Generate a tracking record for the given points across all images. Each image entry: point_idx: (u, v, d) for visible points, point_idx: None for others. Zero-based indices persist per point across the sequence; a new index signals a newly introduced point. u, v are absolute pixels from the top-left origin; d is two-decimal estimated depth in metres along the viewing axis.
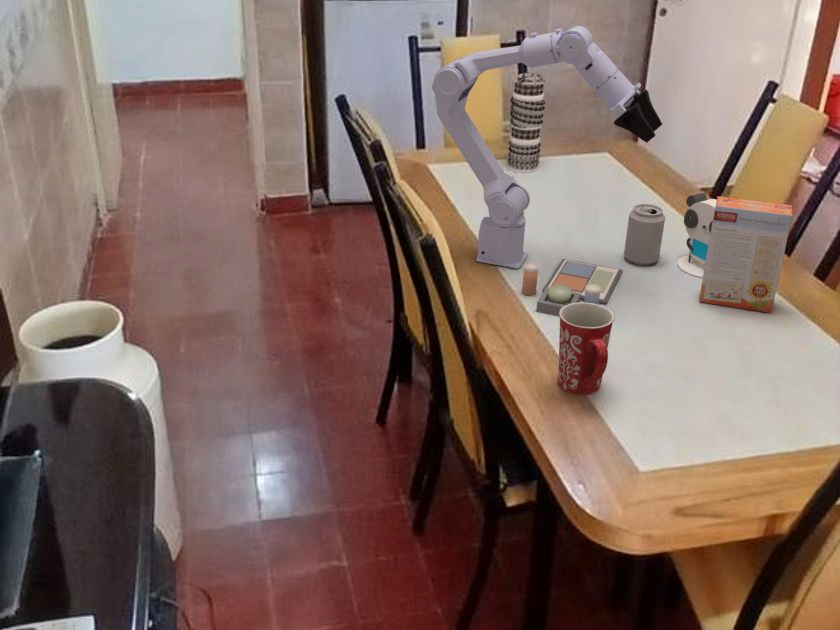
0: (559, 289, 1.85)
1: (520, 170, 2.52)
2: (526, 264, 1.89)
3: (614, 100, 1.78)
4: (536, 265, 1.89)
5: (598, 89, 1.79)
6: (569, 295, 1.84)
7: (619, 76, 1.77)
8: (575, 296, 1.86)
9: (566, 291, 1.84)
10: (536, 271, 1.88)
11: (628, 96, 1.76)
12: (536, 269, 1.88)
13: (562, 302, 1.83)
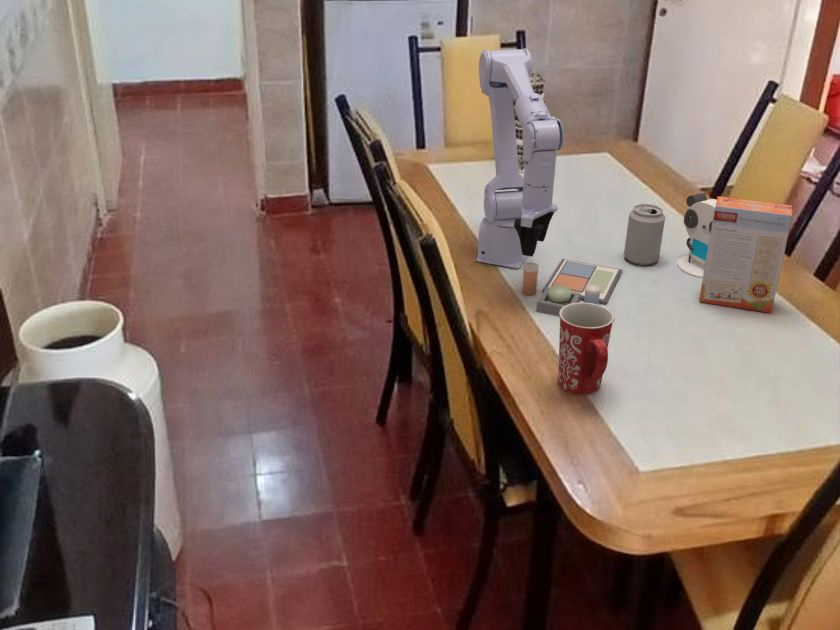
0: (559, 289, 1.85)
1: (520, 170, 2.52)
2: (526, 264, 1.89)
3: (529, 205, 1.80)
4: (536, 265, 1.89)
5: (526, 185, 1.79)
6: (569, 295, 1.84)
7: (549, 192, 1.79)
8: (575, 296, 1.86)
9: (566, 291, 1.84)
10: (536, 271, 1.88)
11: (542, 213, 1.79)
12: (536, 269, 1.88)
13: (562, 302, 1.83)
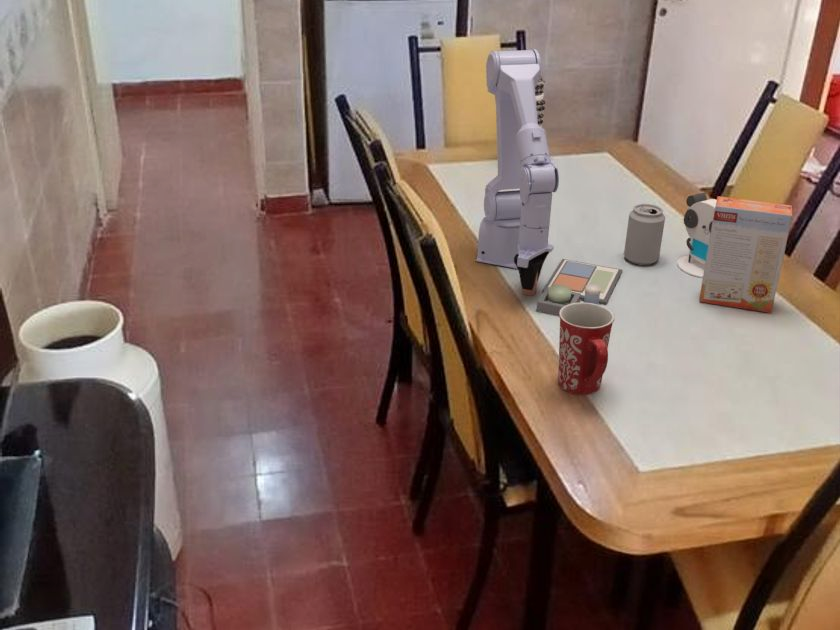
0: (559, 289, 1.85)
1: None
2: None
3: (525, 245, 1.84)
4: None
5: (522, 226, 1.83)
6: (569, 295, 1.84)
7: (545, 232, 1.83)
8: (575, 296, 1.86)
9: (566, 291, 1.84)
10: None
11: (538, 254, 1.83)
12: None
13: (562, 302, 1.83)
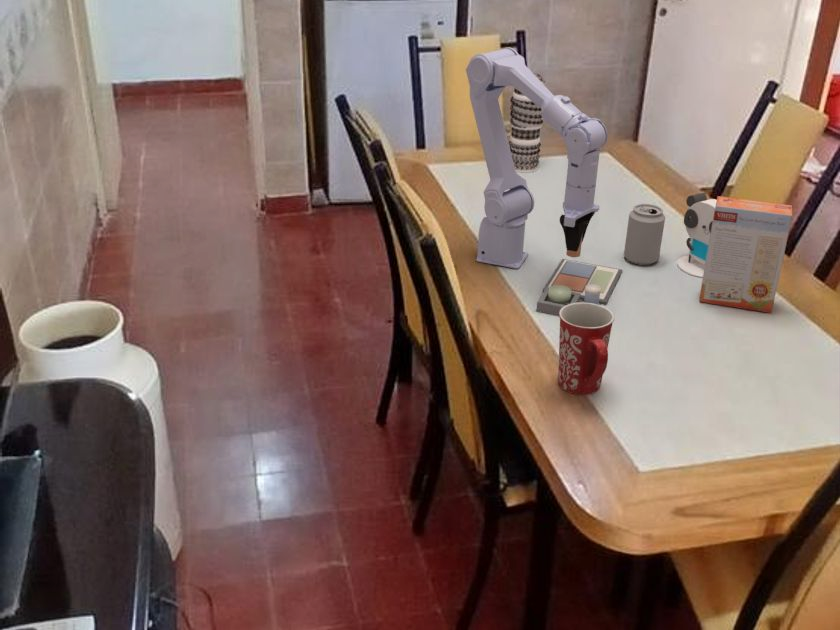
0: (559, 289, 1.85)
1: (520, 170, 2.52)
2: None
3: (572, 205, 1.83)
4: None
5: (569, 186, 1.82)
6: (569, 295, 1.84)
7: (592, 192, 1.82)
8: (575, 296, 1.86)
9: (566, 291, 1.84)
10: None
11: (584, 213, 1.82)
12: None
13: (562, 302, 1.83)
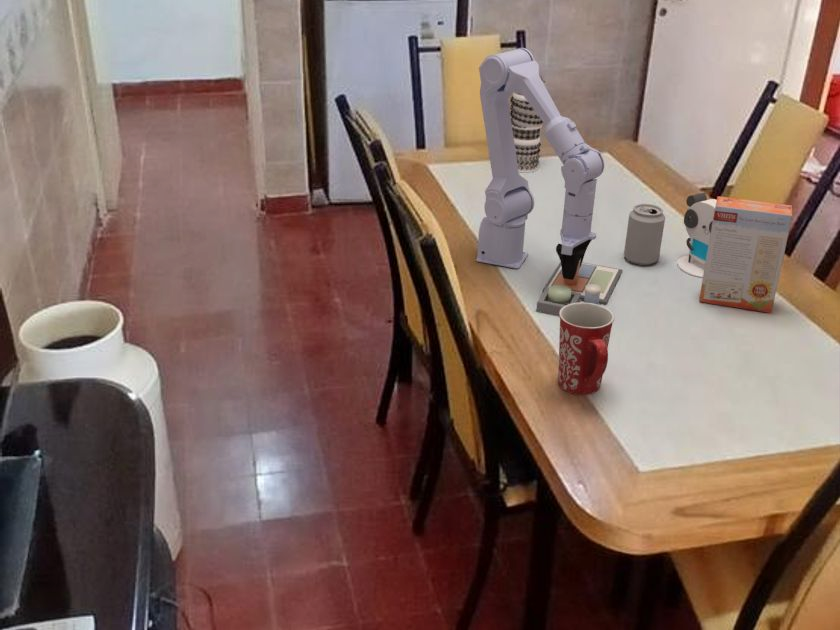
0: (559, 289, 1.85)
1: (520, 170, 2.52)
2: None
3: (569, 233, 1.86)
4: None
5: (566, 214, 1.85)
6: (569, 295, 1.84)
7: (589, 220, 1.85)
8: (575, 296, 1.86)
9: (566, 291, 1.84)
10: (579, 261, 1.90)
11: (581, 241, 1.85)
12: None
13: (562, 302, 1.83)
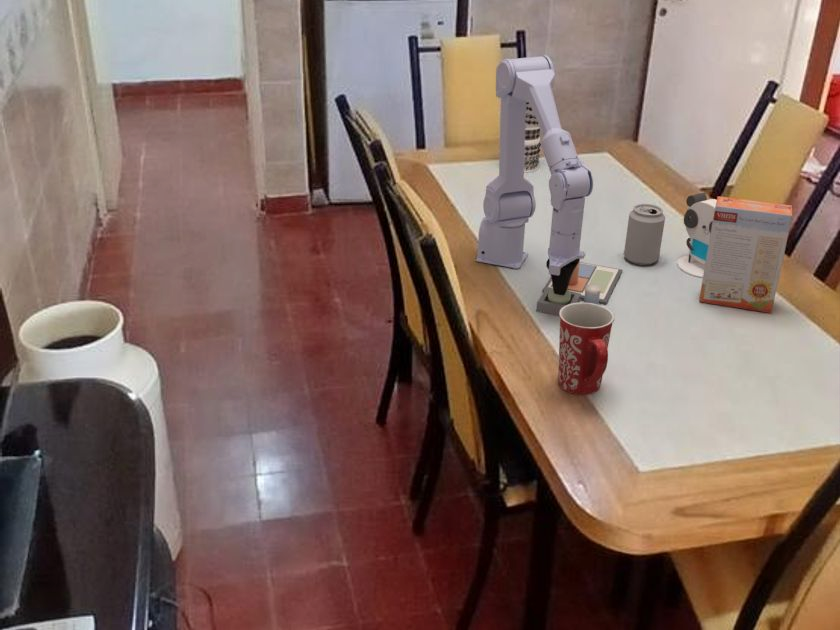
0: None
1: None
2: None
3: (557, 252, 1.78)
4: None
5: (554, 232, 1.77)
6: (569, 298, 1.84)
7: (577, 239, 1.77)
8: (575, 296, 1.86)
9: (566, 294, 1.84)
10: None
11: (569, 261, 1.77)
12: None
13: None
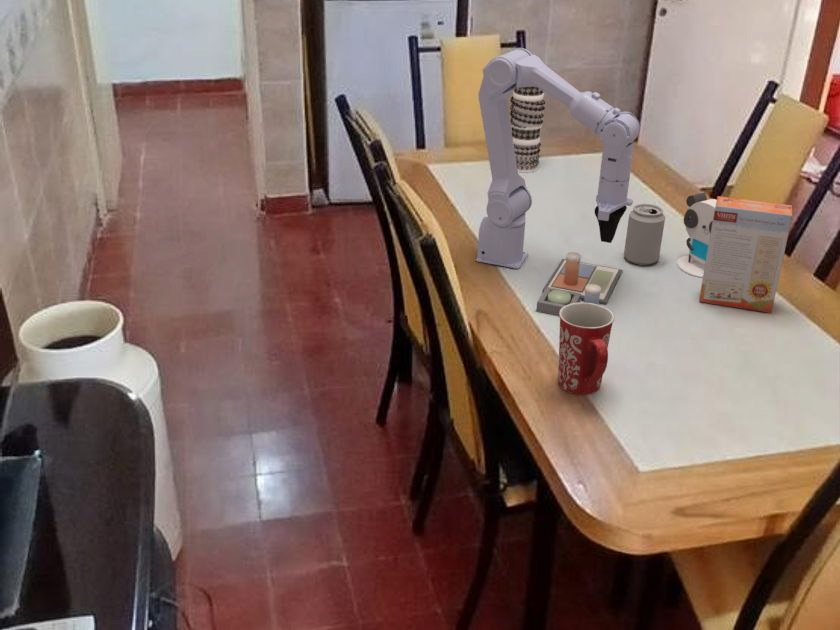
0: (558, 294, 1.85)
1: (520, 170, 2.52)
2: (568, 254, 1.91)
3: (605, 198, 1.83)
4: (578, 255, 1.91)
5: (602, 180, 1.82)
6: (568, 300, 1.84)
7: (625, 186, 1.82)
8: (575, 296, 1.86)
9: (566, 297, 1.84)
10: (578, 261, 1.90)
11: (618, 207, 1.82)
12: (579, 259, 1.90)
13: None
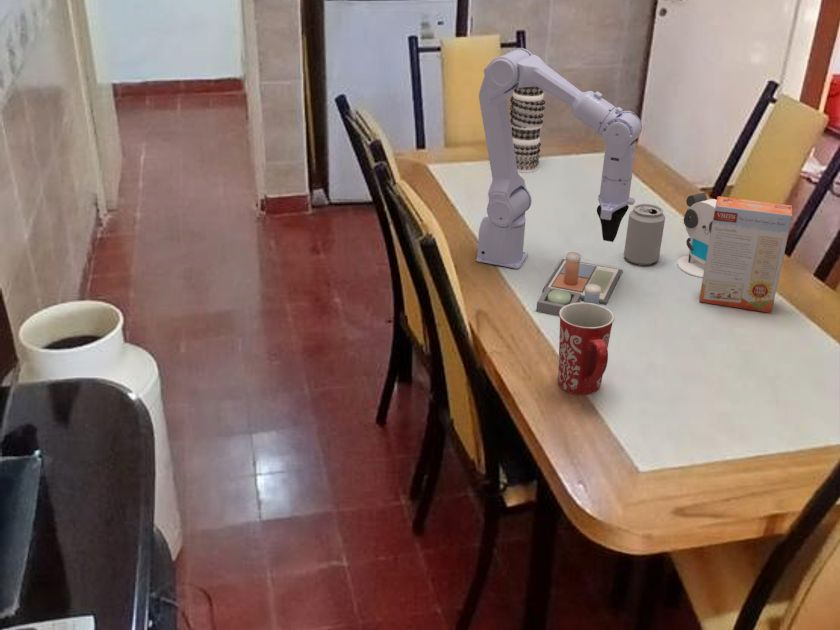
0: (558, 294, 1.85)
1: (520, 170, 2.52)
2: (568, 254, 1.91)
3: (608, 198, 1.84)
4: (578, 255, 1.91)
5: (605, 179, 1.83)
6: (568, 300, 1.84)
7: (628, 185, 1.83)
8: (575, 296, 1.86)
9: (566, 297, 1.84)
10: (578, 261, 1.90)
11: (620, 206, 1.83)
12: (579, 259, 1.90)
13: None
